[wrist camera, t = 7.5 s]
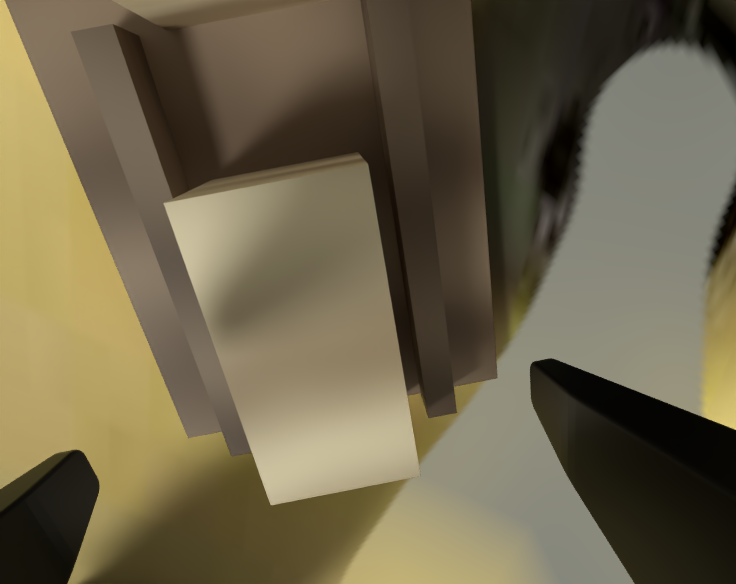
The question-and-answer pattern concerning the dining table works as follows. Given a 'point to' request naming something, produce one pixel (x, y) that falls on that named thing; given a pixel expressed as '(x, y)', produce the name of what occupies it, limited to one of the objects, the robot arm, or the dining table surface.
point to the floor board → (277, 156)
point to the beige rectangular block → (302, 323)
